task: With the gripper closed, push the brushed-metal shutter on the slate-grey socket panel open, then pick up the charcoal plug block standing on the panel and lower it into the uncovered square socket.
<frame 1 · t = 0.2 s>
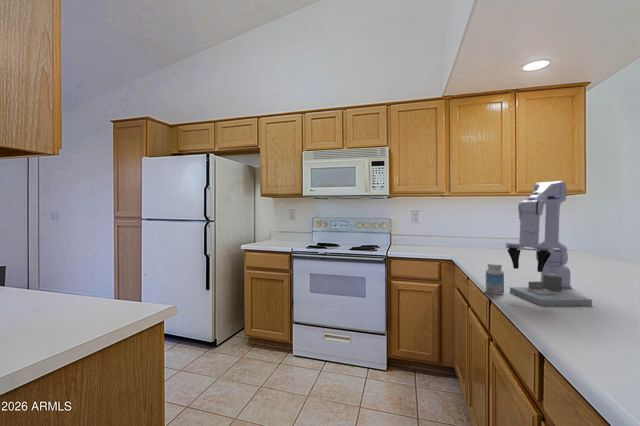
hand: (527, 270, 105), 10 cm above the countertop, tool pointing down, fingers open, 7 cm apart
plug: (552, 289, 111), point 2 cm above the countertop, touching socket panel
pill bottle: (494, 293, 114), on the countertop
socket panel: (547, 298, 106), on the countertop
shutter: (541, 287, 107), point 4 cm above the countertop, slide at 0.0 cm
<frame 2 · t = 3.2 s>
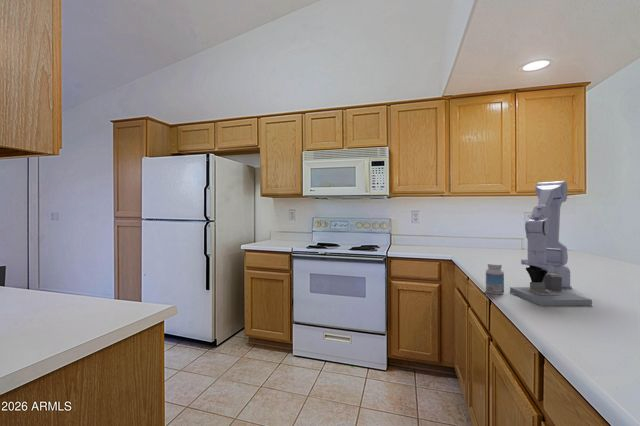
hand: (536, 286, 110), 3 cm above the countertop, tool pointing down, fingers closed
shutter: (543, 288, 106), point 4 cm above the countertop, slide at 0.8 cm, touching gripper
everything else where it was.
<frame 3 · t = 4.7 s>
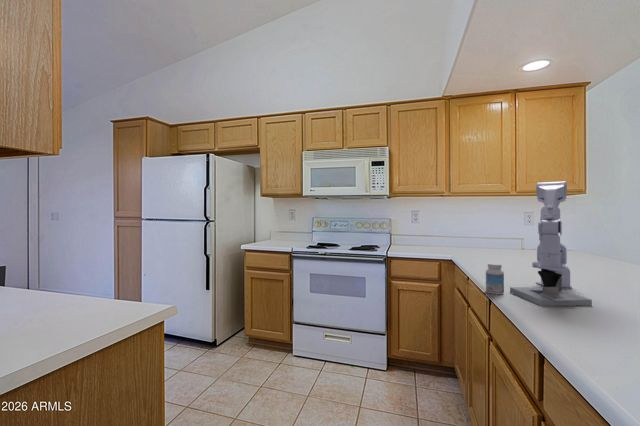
hand: (549, 291, 104), 3 cm above the countertop, tool pointing down, fingers closed
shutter: (557, 293, 100), point 4 cm above the countertop, slide at 7.0 cm, touching gripper
everything else where it was.
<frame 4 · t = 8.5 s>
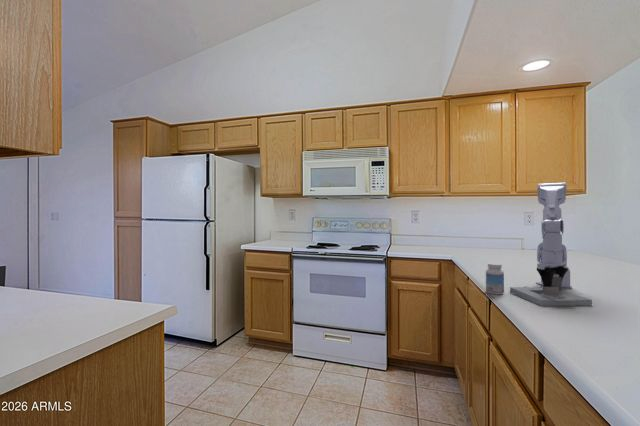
hand: (552, 286, 111), 3 cm above the countertop, tool pointing down, fingers closed on plug, 5 cm apart
plug: (552, 289, 111), point 2 cm above the countertop, touching gripper, socket panel
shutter: (557, 293, 100), point 4 cm above the countertop, slide at 7.0 cm
everything else where it was.
when the fingers open (3 cm above the countertop, at t = 13.7 s): plug drops 2 cm, resting in socket panel.
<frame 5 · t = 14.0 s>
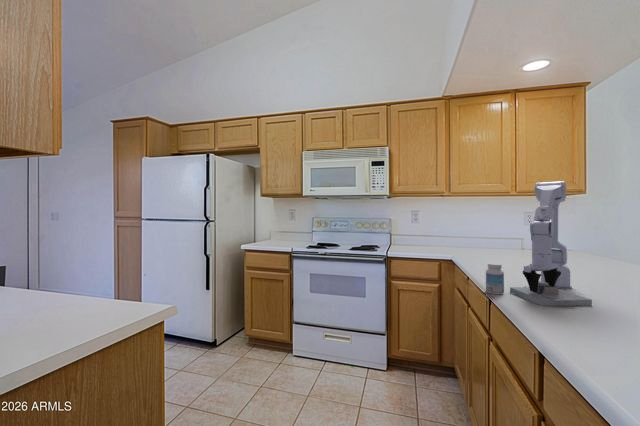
hand: (541, 290, 107), 3 cm above the countertop, tool pointing down, fingers open, 7 cm apart
plug: (541, 297, 107), resting in socket panel
everything else where it was.
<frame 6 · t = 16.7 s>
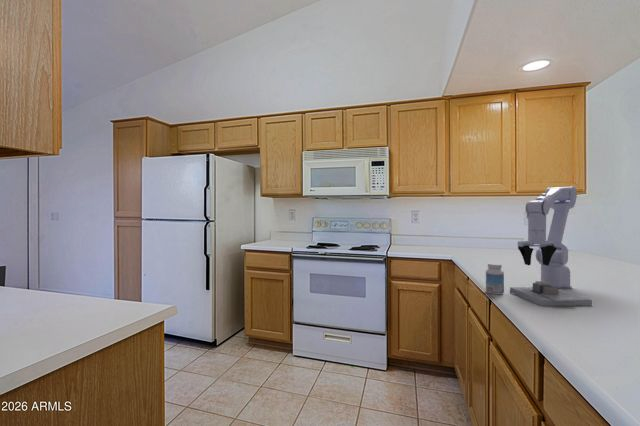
hand: (536, 264, 115), 10 cm above the countertop, tool pointing down, fingers open, 7 cm apart
nothing on the countertop moved.
at the end: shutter slide at 7.0 cm; plug 0.1 cm from the target spot in the socket panel, point 0.0 cm above the socket panel's base; plug tilted 0° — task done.
